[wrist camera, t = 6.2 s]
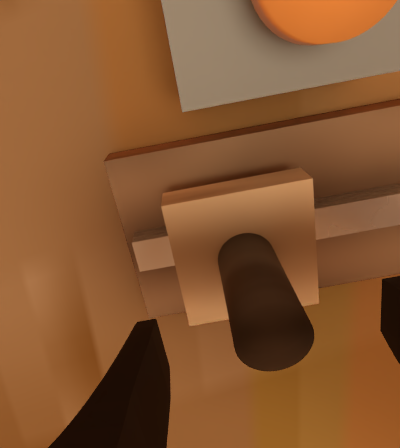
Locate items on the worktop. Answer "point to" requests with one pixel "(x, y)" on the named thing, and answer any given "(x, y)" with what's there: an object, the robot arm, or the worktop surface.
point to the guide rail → (324, 222)
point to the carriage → (249, 261)
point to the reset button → (320, 18)
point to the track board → (263, 164)
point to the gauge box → (263, 54)
